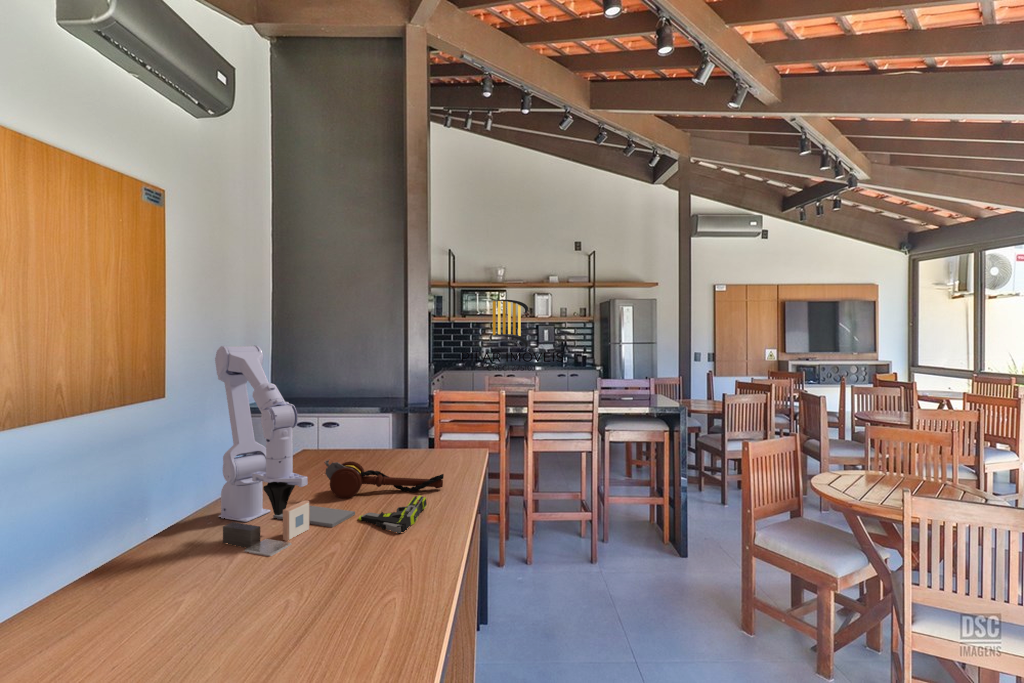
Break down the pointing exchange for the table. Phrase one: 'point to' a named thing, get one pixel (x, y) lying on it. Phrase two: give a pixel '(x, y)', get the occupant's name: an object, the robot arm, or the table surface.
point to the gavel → (370, 479)
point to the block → (295, 520)
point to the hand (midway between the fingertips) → (279, 513)
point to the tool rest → (325, 516)
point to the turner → (251, 539)
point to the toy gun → (397, 516)
